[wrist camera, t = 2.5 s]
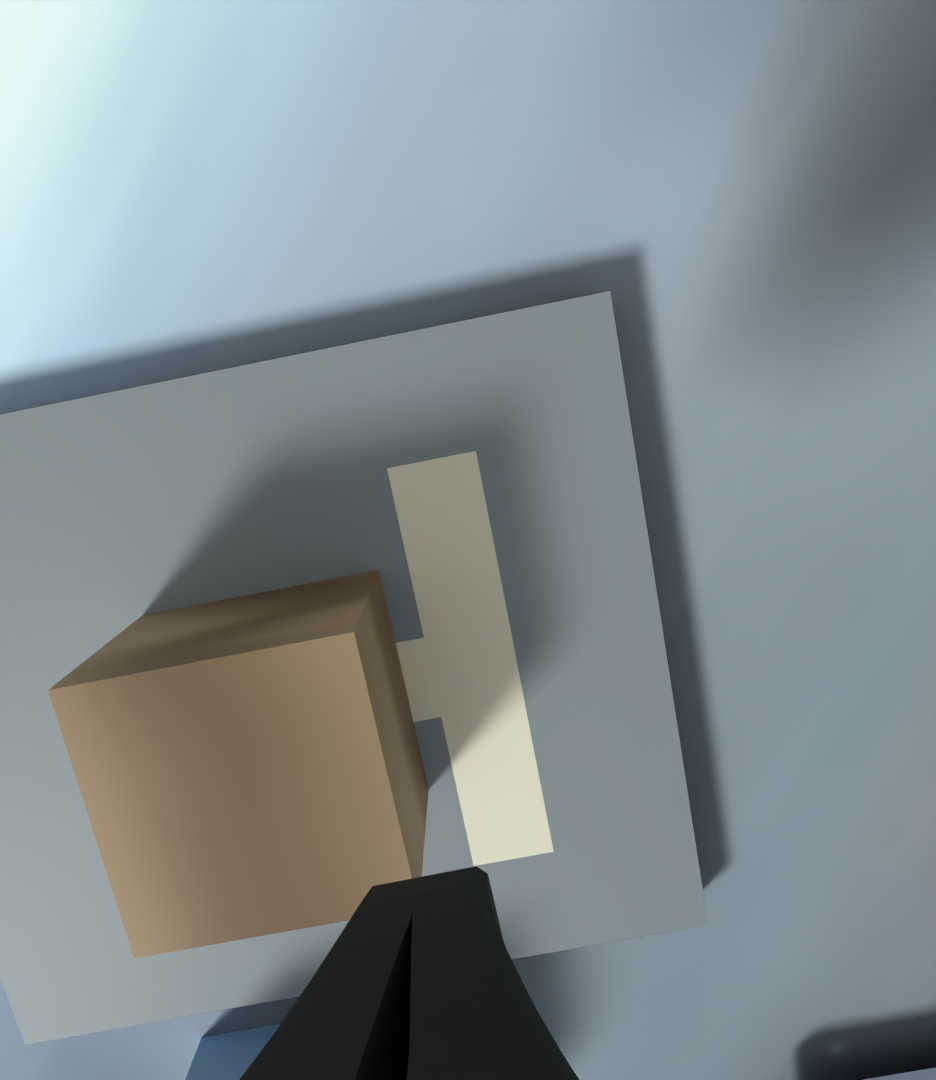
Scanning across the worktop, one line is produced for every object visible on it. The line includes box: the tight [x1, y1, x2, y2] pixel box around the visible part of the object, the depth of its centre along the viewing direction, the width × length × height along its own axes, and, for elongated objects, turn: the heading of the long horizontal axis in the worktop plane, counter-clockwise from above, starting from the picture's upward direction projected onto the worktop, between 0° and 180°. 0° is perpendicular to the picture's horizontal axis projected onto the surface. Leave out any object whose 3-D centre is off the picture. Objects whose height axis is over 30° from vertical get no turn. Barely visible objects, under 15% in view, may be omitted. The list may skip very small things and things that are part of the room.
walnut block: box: [48, 570, 429, 959], centre depth 16 cm, size 5×5×4 cm
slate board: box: [0, 291, 708, 1044], centre depth 18 cm, size 16×14×1 cm
